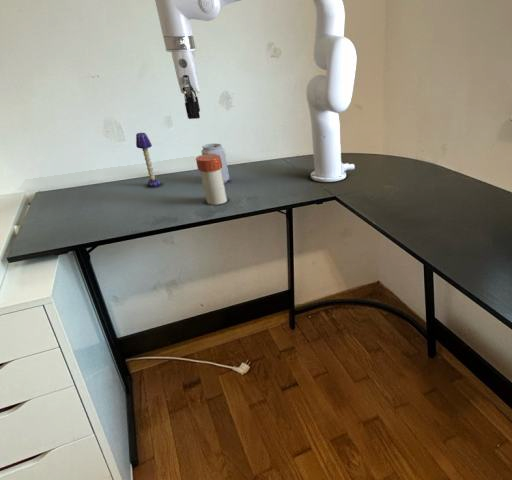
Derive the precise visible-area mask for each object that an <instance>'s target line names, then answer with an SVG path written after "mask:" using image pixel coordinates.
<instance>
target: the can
mask: <svg viewBox="0 0 512 480" xmlns="http://www.w3.org/2000/svg"><path fill="white" fill-rule="evenodd" d="M200 152H201V155H207V154H215V155H219V156H220V158H221V162H222V168H221V171H222V176H223V181H224V184H226V183H228V181H229V180H230V173H229V168H228V163H227V157H226V151H225V148H224V147H222V144H221V143H207V144H204V145H202V149H201V151H200Z"/></svg>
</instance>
